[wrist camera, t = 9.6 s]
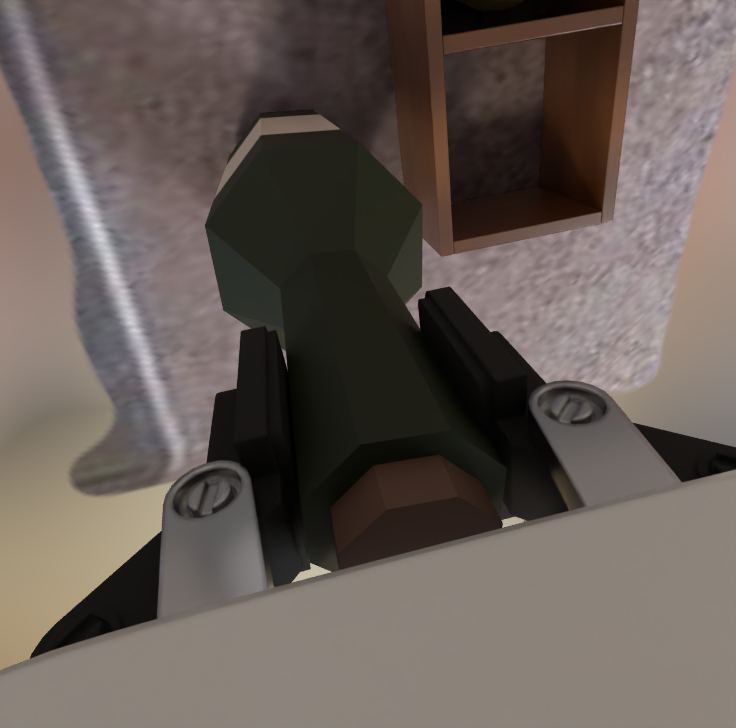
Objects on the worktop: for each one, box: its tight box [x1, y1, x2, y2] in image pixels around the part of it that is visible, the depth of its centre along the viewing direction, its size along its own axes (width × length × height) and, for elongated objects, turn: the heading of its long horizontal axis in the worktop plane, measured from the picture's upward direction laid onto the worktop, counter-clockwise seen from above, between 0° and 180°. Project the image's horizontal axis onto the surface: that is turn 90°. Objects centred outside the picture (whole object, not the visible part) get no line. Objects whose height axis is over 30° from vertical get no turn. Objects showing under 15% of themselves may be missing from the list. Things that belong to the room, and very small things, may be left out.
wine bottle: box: [205, 109, 507, 572], centre depth 20 cm, size 8×8×30 cm
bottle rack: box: [385, 0, 639, 257], centre depth 28 cm, size 21×11×8 cm, turn 9°
